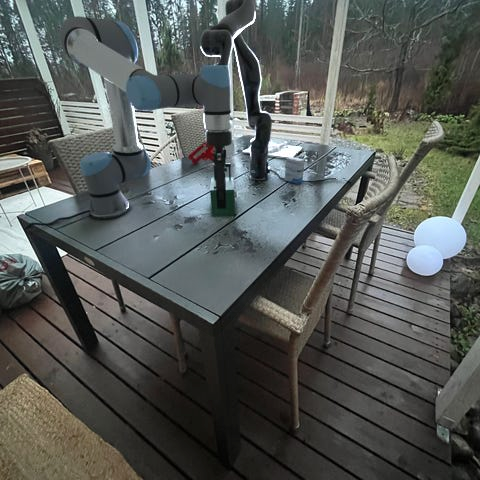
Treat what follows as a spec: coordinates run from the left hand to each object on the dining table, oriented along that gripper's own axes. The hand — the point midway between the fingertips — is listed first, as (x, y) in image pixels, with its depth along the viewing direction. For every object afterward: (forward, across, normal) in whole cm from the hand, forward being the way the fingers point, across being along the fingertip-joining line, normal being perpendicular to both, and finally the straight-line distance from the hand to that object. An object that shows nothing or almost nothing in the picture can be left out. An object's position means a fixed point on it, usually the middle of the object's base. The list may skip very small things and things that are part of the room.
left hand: (221, 199), depth 88 cm
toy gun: (+15, +88, +12) cm, 90 cm away
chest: (+15, +24, 0) cm, 29 cm away
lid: (+5, +24, 0) cm, 25 cm away
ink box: (+15, +54, -37) cm, 67 cm away
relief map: (+15, +114, -35) cm, 121 cm away
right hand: (-10, +28, 0) cm, 30 cm away
